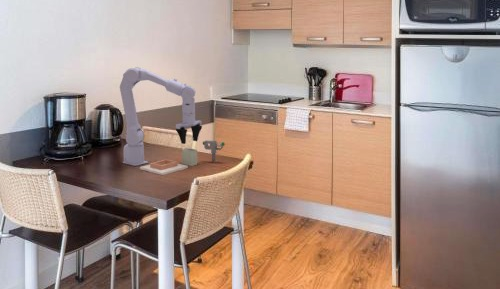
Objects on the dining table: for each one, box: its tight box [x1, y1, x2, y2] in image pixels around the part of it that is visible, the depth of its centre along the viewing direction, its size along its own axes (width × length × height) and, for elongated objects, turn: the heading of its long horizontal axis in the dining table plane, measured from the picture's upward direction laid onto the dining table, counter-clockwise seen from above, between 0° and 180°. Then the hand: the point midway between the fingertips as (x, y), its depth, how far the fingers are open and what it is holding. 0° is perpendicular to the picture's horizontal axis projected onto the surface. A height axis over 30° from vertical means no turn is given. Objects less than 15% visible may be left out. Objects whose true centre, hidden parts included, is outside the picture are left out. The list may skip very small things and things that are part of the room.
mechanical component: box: [202, 140, 226, 163], centre depth 214 cm, size 3×10×10 cm, turn 78°
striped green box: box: [181, 147, 198, 167], centre depth 210 cm, size 6×4×7 cm, turn 52°
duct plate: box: [139, 159, 189, 176], centre depth 202 cm, size 15×15×3 cm
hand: (189, 142), depth 209 cm, fingers open, 7 cm apart
